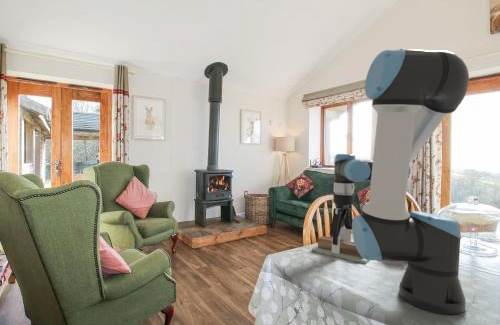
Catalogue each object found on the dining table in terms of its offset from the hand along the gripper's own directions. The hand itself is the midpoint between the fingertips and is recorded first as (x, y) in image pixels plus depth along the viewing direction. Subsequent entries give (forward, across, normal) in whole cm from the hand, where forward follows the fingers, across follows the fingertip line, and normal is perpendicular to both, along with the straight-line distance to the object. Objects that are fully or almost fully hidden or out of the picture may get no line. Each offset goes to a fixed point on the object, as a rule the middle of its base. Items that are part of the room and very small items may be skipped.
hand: (341, 248), depth 112 cm
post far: (+2, +11, +6) cm, 12 cm away
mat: (+2, 0, 0) cm, 2 cm away
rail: (+1, 0, 0) cm, 1 cm away
